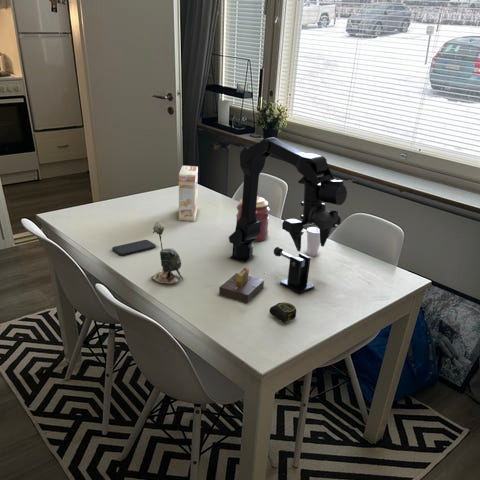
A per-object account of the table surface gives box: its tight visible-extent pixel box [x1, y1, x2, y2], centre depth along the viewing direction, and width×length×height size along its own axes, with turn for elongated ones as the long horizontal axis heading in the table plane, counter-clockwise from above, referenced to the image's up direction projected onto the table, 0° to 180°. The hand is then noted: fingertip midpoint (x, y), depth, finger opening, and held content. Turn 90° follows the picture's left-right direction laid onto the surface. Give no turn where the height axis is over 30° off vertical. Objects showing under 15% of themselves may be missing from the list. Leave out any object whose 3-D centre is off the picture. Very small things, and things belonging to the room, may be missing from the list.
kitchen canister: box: [235, 195, 271, 243], centre depth 200 cm, size 13×13×18 cm
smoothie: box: [305, 226, 321, 257], centre depth 189 cm, size 6×6×14 cm
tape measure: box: [269, 301, 297, 324], centre depth 149 cm, size 7×7×4 cm
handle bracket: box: [279, 252, 315, 296], centre depth 166 cm, size 9×7×11 cm
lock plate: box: [218, 272, 265, 304], centre depth 163 cm, size 12×10×3 cm
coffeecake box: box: [178, 165, 199, 222], centre depth 218 cm, size 15×7×20 cm, turn 179°
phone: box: [111, 239, 157, 256], centre depth 188 cm, size 7×1×15 cm
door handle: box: [273, 246, 306, 267], centre depth 167 cm, size 13×3×3 cm, turn 40°
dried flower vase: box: [150, 222, 184, 285], centre depth 162 cm, size 8×11×20 cm
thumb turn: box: [236, 267, 250, 287], centre depth 161 cm, size 6×2×4 cm, turn 153°
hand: (310, 248), depth 161 cm, fingers open, 9 cm apart
